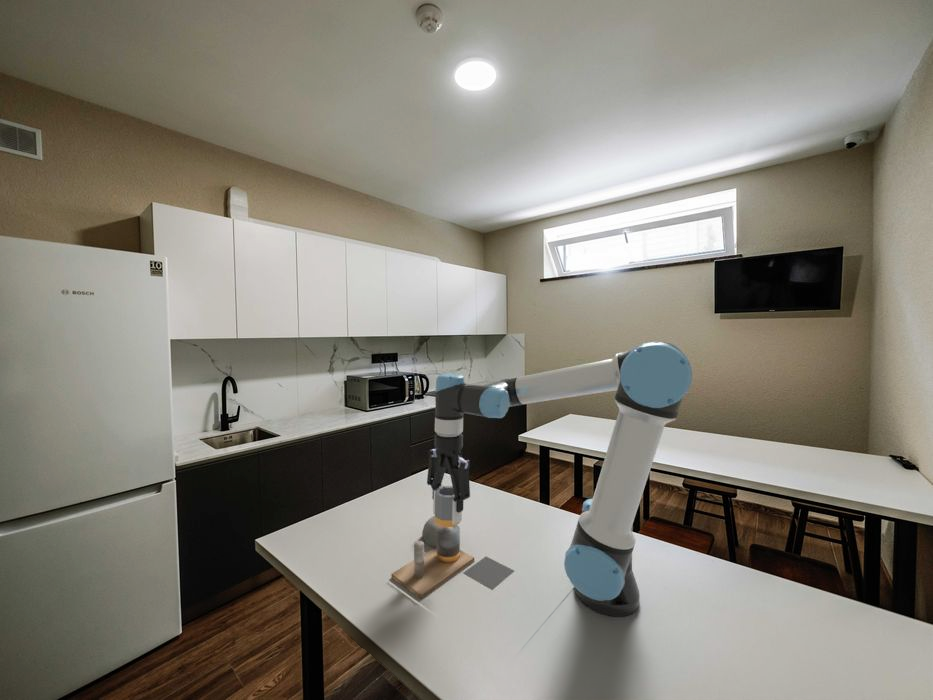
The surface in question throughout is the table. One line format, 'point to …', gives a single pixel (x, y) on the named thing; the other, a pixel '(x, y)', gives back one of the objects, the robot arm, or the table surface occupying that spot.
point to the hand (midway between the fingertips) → (447, 517)
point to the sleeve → (444, 506)
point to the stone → (430, 532)
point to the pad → (488, 572)
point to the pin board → (434, 563)
